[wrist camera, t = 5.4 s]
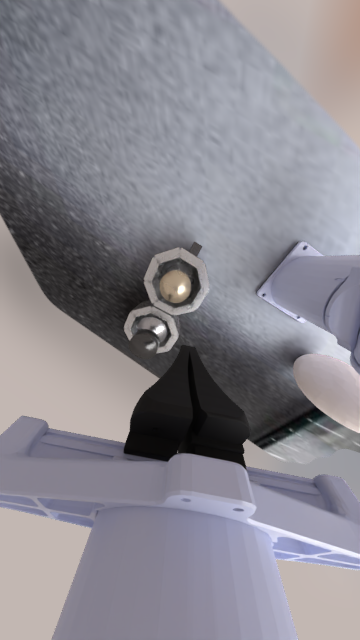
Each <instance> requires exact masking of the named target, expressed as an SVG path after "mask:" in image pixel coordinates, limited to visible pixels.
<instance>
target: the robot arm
mask: <svg viewBox="0 0 360 640" xmlns="http://www.w3.org/2000/svg"><path fill="white" fill-rule="evenodd" d="M304 246H305V249H304V250H303V247H304ZM262 294H264V296H262ZM257 295H258V296H259V297H261V298H262V299H264V300H265V301H267V302H268V303H270V304H272V305H273V306H275V307H276V308H278V309H280V310H281V311H283V312H284V313H286V314H287V315H289V316H291V317H292V318H294V319H295V320H297V321H298V322H300V323H304V322H305V321H309V322H311V323H313V324H314V325H316V326H318V327H320V328H322V329H324V330H326V331H328V332H329V333H331V334H333V335H335V336H336V338H337V344H339V345H340V346H342V347H344V348H346V349H347V350H349V351H351V356H350V362H351V365H352V367H353V368H354V369H355V371H356V372H357V373H358V374H359V375H360V255H344V256H323V255H322V254H321V253H319V252H318V251H317V250H316V249H314V248H313V247H312V246H310V245H309V244H308V243H306V242H305V241H302V242H299V243H298V244H297V245H296V246H295V247H294V248H293V250H292V251H291V252H290V253H289V254H288V256H287V257H286V258H285V259H284V260H283V261H282V263H281V264H280V265H279V266H278V267H277V269H276V270H275V271H274V272H273V273H272V275H271V276H270V277H269V278H268V279H267V281H266V282H265V283H264V284H263V285H262V286H261V288H260V289H259V290H258V291H257ZM297 316H298V317H297ZM250 434H251V429H250V426H249V423H248V420H247V418H246V415H245V413H244V411H243V410H242V409H241V408H239V407H238V406H237V405H236V404H235V403H234V402H233V401H232V400H231V399H230V398H229V397H228V396H227V395H226V394H225V393H224V392H223V391H222V390H221V389H220V388H219V386H218V385H217V384H216V383H215V382H214V380H213V379H212V378H211V376H210V375H209V373H208V372H207V370H206V368H205V367H204V365H203V363H202V361H201V359H200V357H199V355H198V353H197V350H196V348H195V347H190V346H185V345H182V346H181V349H180V352H179V354H178V356H177V358H176V360H175V361H174V363H173V364H172V366H171V367H170V368H169V370H168V371H167V372H166V373H165V374H164V375H163V376H162V377H161V378H160V379H159V380H158V381H157V382H156V383H155V384H154V385H153V386H151V387H150V388H149V389H148V390H146V391H145V392H144V394H143V395H142V396H141V398H140V399H139V401H138V403H137V405H136V406H135V408H134V411H133V414H132V417H131V420H130V432H129V435H128V438H127V440H126V443H122V442H117V441H112V440H107V439H101V438H96V437H91V436H86V435H81V434H76V433H71V432H66V431H60V430H55V429H50V428H48V424H47V422H46V421H44V420H42V419H37V418H32V417H27V416H21V417H20V418H19V419H17V421H15V422H14V423H13V424H12V425H11V426H10V427H9V428H8V429H7V430H6V431H5V432H4V433H3V434H1V435H0V507H3V508H7V509H12V510H17V511H21V512H26V513H30V514H34V515H39V516H43V517H47V518H51V519H55V520H59V521H63V522H68V523H72V524H76V525H80V526H84V527H89V528H92V530H91V533H90V535H89V538H88V541H87V544H86V547H85V549H84V552H83V555H82V557H81V560H80V563H79V566H78V568H77V571H76V574H75V577H74V580H73V582H72V585H71V588H70V590H69V594H68V596H67V599H66V601H65V604H64V607H63V610H62V612H61V615H60V618H59V621H58V624H57V626H56V629H55V632H54V635H53V637H52V640H298V637H297V633H296V630H295V626H294V623H293V619H292V616H291V612H290V609H289V605H288V601H287V598H286V595H285V591H284V587H283V584H282V580H281V577H280V573H279V570H278V566H277V563H276V559H280V560H289V561H296V562H305V563H313V564H320V565H328V566H335V567H342V568H347V569H353V570H360V502H359V501H358V499H357V497H356V496H355V495H354V493H353V492H352V490H351V489H350V487H349V486H348V485H347V483H346V482H345V480H344V479H342V478H341V477H335V476H330V475H318V476H316V477H315V478H314V479H309V478H303V477H298V476H293V475H288V474H283V473H278V472H272V471H267V470H262V469H257V468H251V467H247V466H246V465H245V461H244V457H243V454H244V448H243V445H242V444H243V443H244V442H245V441H246V439H247V438H248V437H249V435H250ZM177 451H178V453H177Z"/></svg>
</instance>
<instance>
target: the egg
mask: <svg viewBox="0 0 360 640" xmlns="http://www.w3.org/2000/svg"><path fill="white" fill-rule="evenodd" d="M293 374H294V378H295V380H296V383H297V384H298V386H299V388H300V389H301V390H302V392H303V393H304V394H305V395H306V397H307V398H308V399H309V400H310V401H311V402H312V403H313V404H314V405H315V406H316V407H317V408H319V409H320V410H321V411H323V412H324V413H325V414H327V415H328V416H329V417H331V418H332V419H334V420H335V421H337V422H339V423H340V424H342V425H344V426H346V427H347V428H349V429H351V430H354V431H356V432H358V433H360V375H359V374H358V373H357V372H356V371H355V369H354V368H353V367H352V366H350V365H349V364H347V363H345V362H343V361H341V360H339V359H336V358H333V357H330V356H327V355H321V354H305V355H302V356H300V357H299V358H297V359H296V361H295V362H294V366H293Z"/></svg>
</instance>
